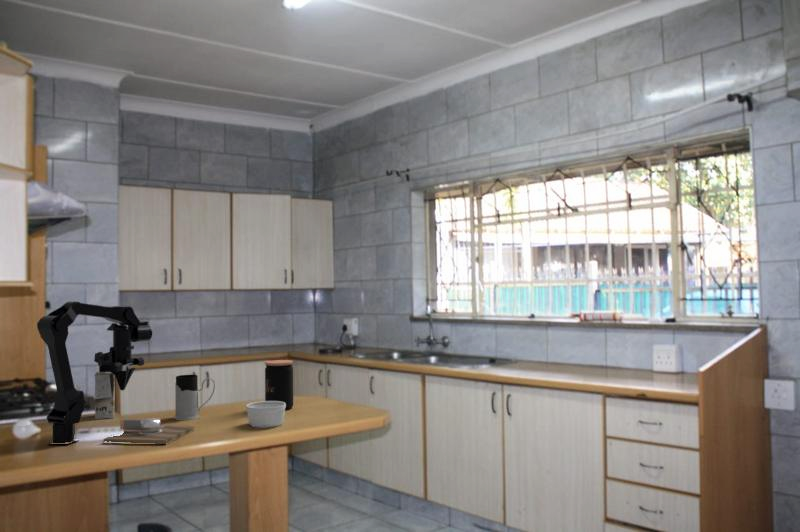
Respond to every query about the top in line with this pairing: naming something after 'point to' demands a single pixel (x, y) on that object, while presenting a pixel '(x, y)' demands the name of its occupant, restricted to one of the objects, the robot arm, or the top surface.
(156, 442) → the lock board
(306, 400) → the top surface
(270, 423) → the ramekin
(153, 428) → the lock knob
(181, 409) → the grey black mug
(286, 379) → the coffee jar
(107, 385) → the coffee box
